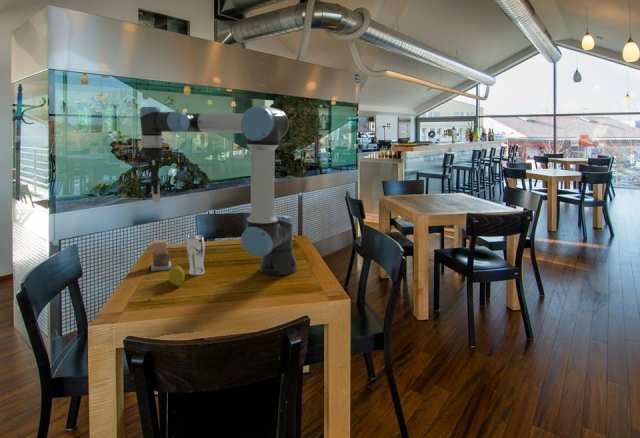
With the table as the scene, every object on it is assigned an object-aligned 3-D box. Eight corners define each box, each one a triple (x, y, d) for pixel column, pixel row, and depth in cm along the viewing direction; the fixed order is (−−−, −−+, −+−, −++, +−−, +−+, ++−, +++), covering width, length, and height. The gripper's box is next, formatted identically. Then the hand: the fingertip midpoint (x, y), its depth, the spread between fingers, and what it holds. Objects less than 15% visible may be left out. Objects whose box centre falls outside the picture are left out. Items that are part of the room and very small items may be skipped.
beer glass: (201, 276, 167) (199, 239, 164) (184, 275, 169) (182, 238, 166) (209, 270, 174) (207, 235, 171) (193, 269, 175) (191, 234, 172)
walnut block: (153, 267, 175) (152, 255, 174) (153, 263, 180) (152, 251, 179) (169, 265, 177) (168, 254, 176) (168, 261, 182) (167, 250, 181)
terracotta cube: (153, 254, 175) (152, 243, 174) (154, 251, 180) (153, 240, 179) (166, 253, 177) (165, 242, 176) (166, 250, 181) (165, 239, 180)
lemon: (186, 283, 159) (185, 263, 158) (182, 288, 154) (181, 267, 152) (172, 283, 159) (170, 263, 158) (167, 288, 154) (165, 267, 152)
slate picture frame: (171, 269, 176) (171, 266, 176) (151, 271, 173) (150, 268, 173) (171, 263, 184) (171, 260, 184) (151, 264, 181) (151, 262, 181)
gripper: (162, 147, 159) (166, 203, 163) (162, 145, 182) (166, 195, 186) (141, 148, 156) (145, 204, 160) (143, 146, 179) (147, 195, 183)
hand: (156, 199), depth 173 cm, fingers open, 13 cm apart
